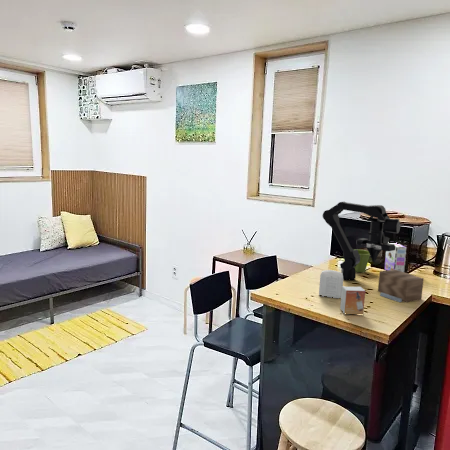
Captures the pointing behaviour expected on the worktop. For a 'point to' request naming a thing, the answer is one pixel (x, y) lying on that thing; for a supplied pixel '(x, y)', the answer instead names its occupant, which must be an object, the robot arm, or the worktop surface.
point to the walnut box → (400, 285)
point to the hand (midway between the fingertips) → (373, 261)
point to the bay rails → (391, 297)
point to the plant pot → (362, 260)
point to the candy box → (396, 258)
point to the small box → (352, 300)
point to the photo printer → (331, 283)
